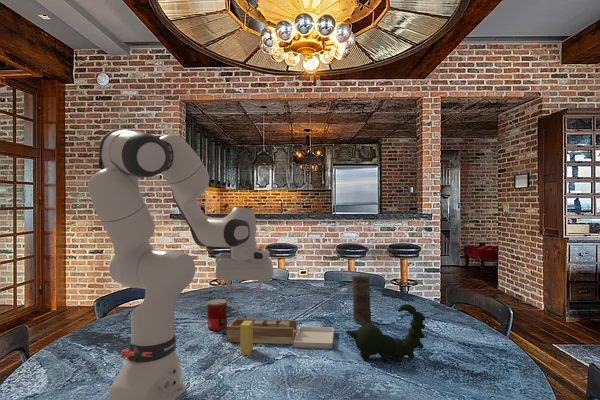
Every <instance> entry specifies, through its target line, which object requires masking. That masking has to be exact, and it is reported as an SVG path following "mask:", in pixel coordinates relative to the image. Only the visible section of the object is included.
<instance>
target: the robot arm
mask: <svg viewBox="0 0 600 400" xmlns="http://www.w3.org/2000/svg"><path fill="white" fill-rule="evenodd" d="M98 147H99V150H98V151H99V152H98V153H99V159H98V166H99V168H100V170H99V171H96V172H95V173H94V174H93V175H92V176H91V177H90V178H89V179H88V182H87V189H88V193H89V196H90V200H91V202H92V206H93V209H94V210H95V213H96V215H97V217H98V218H99V220H100V222H101V224H102V226H103V228H104V229H105V231H106V233H107V235H108V237H109V239H110V241H111V244H112V247H113V252H114V256H113V257H112V259H111V261H110V264H109V276H110V277H111V280H113V282H115V283H117V284H119V285H121V286H124V287H127V288H135V289H145V290H144V291H145V293H144V299H143V302H142V303H140V304H138V305H137V306H136V307H135V308H133V310H132V312H131V315H130V337H131V338H130V341H129V344H128V347H127V349H122V350H121V351H120V358H121V359H125V358H126V360H125V362H124V364H123V366H122V367H121V369H120V370H119V372H118V374H117V376H116V377H115V379H114V381H113V382H112V384H111V386H110V389H109V392H108V400H176V399H178V398H179V397H180V396H181V395H182V394H184V393H185V392H186V391H187V385H185V384H184V383H183V380H182V379H183V378H182V367H181V360H180V358H179V356H178V355H177V353H176V349H177V339H176V334H175V311H176V306H177V302H178V299H179V297H180V295H181V294H182V292H183V291H184V290H185V289H186V288H187V287H188V286H190V284H191V283H193V282H192V281H193V279H194V278H195V274H196V264H195V261H194V259H193V257H192V256H191V255H190V254H188V253H185V252H183V251H178V250H175V249H159V248H158V249H156V248H154V247H153V246H152V245H151V243H150V239H151V238H152V237H153V235H154V233H155V230H156V223H155V221H154V218H153V217H152V215H151V213H150V210H149V208H148V206H147V204H146V202H145V199H144V197H143V195H142V194H141V191H140V188H139V178H152V177H154V176H158V175H160V174H161V175H162V177H163V178H164V180H165V181H166V182H167V184H168V185H169V186H170V188H171V190H172V191H171V195H172V196H171V197H172V199H173V201H174V203H175V205H176V207H177V209H178V210H179V212H180V214H181V215H182V216H183V217H182V218H183V219H184V221H185V222H186V224H187V226H188V228H189V230H190V235H191V237H192V239H193V241H194V243H195V244H196V245H197V246H198V247H203V248H205V247H207V248H208V247H209V248H210V247H215V248H216V247H218V248H230V252H219V254H216V256H215V258H214V259H215V264H216V267H215V273H214V274H215V276H214V277H215V278H216V279H217V280H218V281H222V280H224V281H225V285H227V287H228V292H229V293H234V292H235V286H233V284H231V282H232V281H257V282H258V286H256V287H255V288H254V289H255V293H256V294H259V293H261V287H262V285H263V284H264V282H265V281H270V280H272V279H273V277H274V265H273V261H272V259H271V258H270V254H271V253H270V251H269V249H264V248H261V247H258V245H257V240H256V234H257V220H256V214H255V212H254V209H252V208H251V207H247V206H234V207H232V208H231V212H230V213H229V214H227V215H226V216H224V217H211V216H208V215H206V214H205V213H204V211H203V210H202V208H201V206H200V205H199V203H198V200H197V199H199V197H201V196H202V195H203V194H204V193H205V192H206V190H207V188H208V187H209V183H210V175H209V172H208V170H207V168H206V166H205V165H204V163H203V162H202V160H201V159H200V157H199V155H198V154H197V153H196V151H194V149H193V148H192V147H191V146H190V145H189V143H188V142H187V141H186V140H185V139H184V138H183V137H182V136H180V135H178V134H175V133H169V134H166V135H162V136H160V137H158V136H156V135H154V134H151V133H146V132H142V131H139V130H135V129H121V128H119V129H115V130H111V131H109V132H107V133H105V135H103V136H102V138H101V139H100V142H99V146H98Z"/></svg>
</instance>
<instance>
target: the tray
mask: <svg viewBox="0 0 600 400" xmlns="http://www.w3.org/2000/svg"><path fill="white" fill-rule="evenodd" d="M334 336H335V327H332V326H331V327H330V326H329V327H328V326H327V327H326V326H305V325H304V326H301V325H299V326H298V327H297V333H296V336H295V338H294V341H293V344H292V347H293V348H295V349H298V348H299V349H300V348H301V349H320V350H333V349H334V348H333V347H334V339H335V337H334Z"/></svg>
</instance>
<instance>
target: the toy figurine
mask: <svg viewBox="0 0 600 400" xmlns="http://www.w3.org/2000/svg"><path fill="white" fill-rule="evenodd" d="M402 311H406V312H408V314H411V316H412V319H411V321H410V327H409V329H408V333H407V335H405V338H402V339H400V338H393V337H392V336H390V335H388V334H384V333H383V332H382V330H381V329H380V328H379V327H378V326H376V325H374V324H371V323H369V324H366V325H363V324H362V325H361V326H359V327H358V329H356V330H346V331H345V333H346V334H347V335H348V336H349V337H351V338H352V339H353V340H354V343H355V345H356V347H357V349H358V351H359V355H360V358H361V359H363V361H367V360H370V357H371V356H374V355H375V356H376V355H379V356H380V357H381V360H382V361H383V362H388V361H389V360H390V357H391V358H394V359H395V361H396V362H397V363H399V364H401V363H403V358H404V357H405V356H407V357H408V359H410V360H414V359H415V358H416V356H415V353H414V351H415V349H417V348H418V349H423V348H424V346H425V345H424V344H423V343H422V342H421V339H425V337H426V336H425V334H424V333H423V329H425V328H426V326H425V324H424V321H425V320H426V317H425V316H424V314H423V313H422V312H420V311H417V310H416V307H415V306H413V305H410V304H402V305H401V306H399V308H398V309H397V312H398V313H400V312H402Z"/></svg>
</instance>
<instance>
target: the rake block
mask: <svg viewBox="0 0 600 400" xmlns="http://www.w3.org/2000/svg"><path fill="white" fill-rule="evenodd" d="M239 343H240V344H239V345H240V356H241V355H242V356H250V355H251V353H252V351H253V350H254V343H253V321H247V320H244V322H243V323H242V324H241V325H240V342H239Z"/></svg>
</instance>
